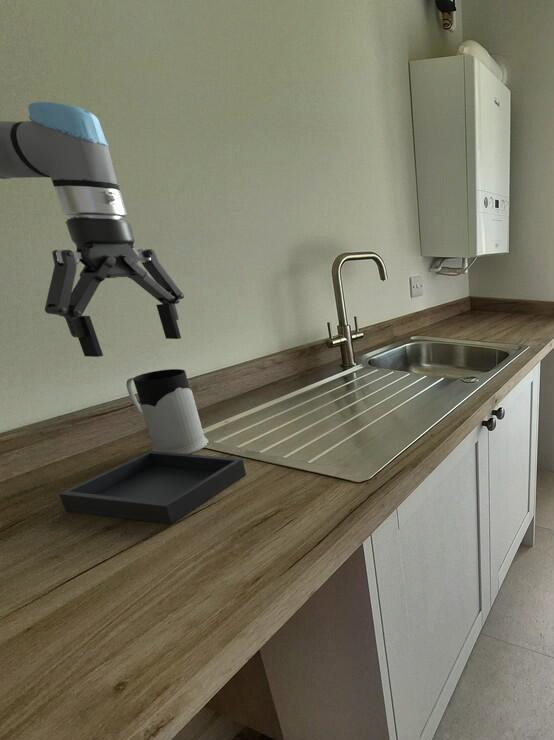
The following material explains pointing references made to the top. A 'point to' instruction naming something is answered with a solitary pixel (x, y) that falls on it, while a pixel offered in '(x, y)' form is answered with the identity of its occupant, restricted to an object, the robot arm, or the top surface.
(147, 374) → the black and white mug
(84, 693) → the top surface
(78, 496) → the tray
